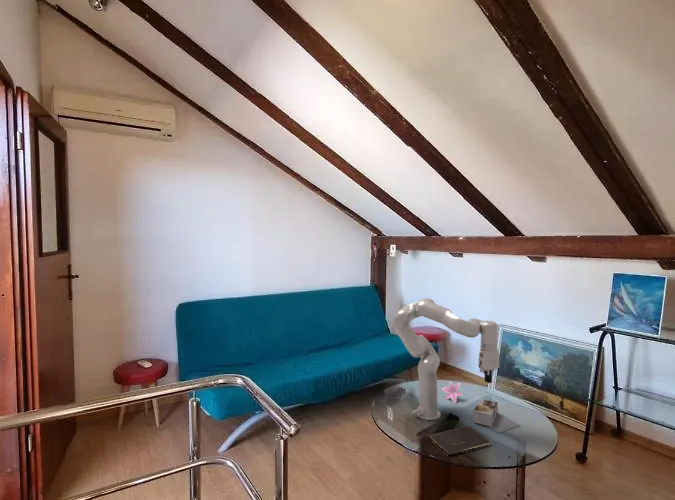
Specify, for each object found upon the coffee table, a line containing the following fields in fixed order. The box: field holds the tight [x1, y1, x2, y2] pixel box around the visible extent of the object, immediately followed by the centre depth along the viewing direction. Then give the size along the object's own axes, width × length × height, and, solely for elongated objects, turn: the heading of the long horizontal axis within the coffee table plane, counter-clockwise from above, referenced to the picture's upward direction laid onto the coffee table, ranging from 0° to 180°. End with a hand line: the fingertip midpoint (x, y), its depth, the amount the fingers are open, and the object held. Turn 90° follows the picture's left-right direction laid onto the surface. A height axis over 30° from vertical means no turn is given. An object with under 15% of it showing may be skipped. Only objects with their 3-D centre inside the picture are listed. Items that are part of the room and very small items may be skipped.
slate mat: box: [484, 412, 522, 434], centre depth 194 cm, size 15×14×1 cm
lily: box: [441, 380, 464, 404], centre depth 222 cm, size 12×12×10 cm
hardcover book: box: [427, 425, 491, 454], centre depth 178 cm, size 16×23×2 cm
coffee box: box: [472, 398, 499, 427], centre depth 198 cm, size 9×6×16 cm
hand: (488, 381), depth 190 cm, fingers closed
